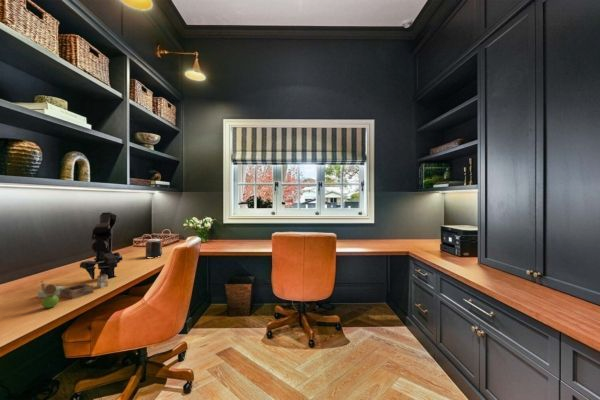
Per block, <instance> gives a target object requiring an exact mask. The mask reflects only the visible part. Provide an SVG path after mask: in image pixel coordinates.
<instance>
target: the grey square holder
mask: <svg viewBox="0 0 600 400" xmlns="http://www.w3.org/2000/svg"><path fill="white" fill-rule="evenodd" d="M92 293H94V285H93V284H85V283H80V284H76V285H72V286H68V287H66V288H64V289H61V290H60V294H59V298H60V297H61V298H64V299H70V300H74V299H77V298H80V297H82V296H85V295H89V294H92Z"/></svg>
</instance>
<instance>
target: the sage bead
mask: <svg viewBox="0 0 600 400" xmlns="http://www.w3.org/2000/svg"><path fill="white" fill-rule="evenodd" d="M55 286H56V288H57V289H56V291H55V292H54V293H56V294H55V295H56V296H60V290H61V289H64V288H67V287H66V285H65V286H63V285H61V286H57V285H55ZM46 296H47V295H45V294H44V293H43V291H42V289H41V290H38V291H37V298H45V297H46Z"/></svg>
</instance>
